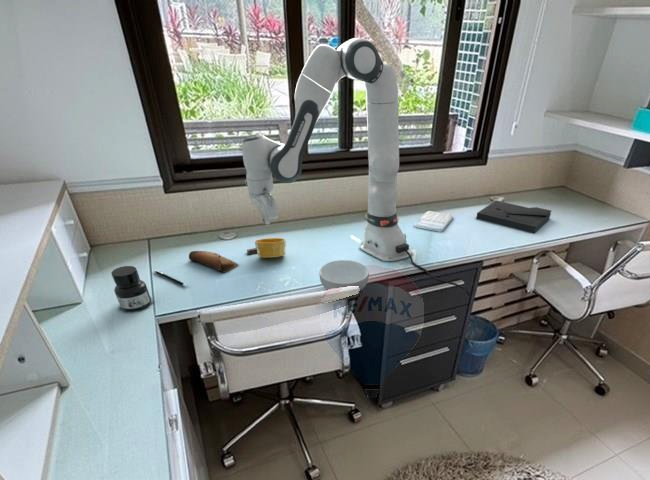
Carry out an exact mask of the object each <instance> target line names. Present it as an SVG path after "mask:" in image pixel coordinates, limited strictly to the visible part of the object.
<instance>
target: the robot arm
mask: <svg viewBox="0 0 650 480" xmlns="http://www.w3.org/2000/svg"><path fill="white" fill-rule="evenodd" d="M344 77H345V78H347V79H350V80H353V81H361V82H362V83H363V85H364V88H365V99H366V101H365V102H366V103H365V104H366V125H367V127H366V128H367V130H366V131H367V154H368V155H367V158H368V187H367V188H368V190H367V211H366V222H367V223H366V225H365V227H364V230H363V240H362V245H360V250H361V251H363V252H365V253H367V254H369V255H370V256H373V257H374V258H377V259H378V260H380V261H382V262H395V261H401V260H404V259H407V258H409V261H410V262H411V264H412V265H413V266H414V267H417V268H418V269H420V270H422V271H424V272H425V273H426V274H427V275H428V276H429V277H430V278H432V279H433V280H435V281H437V282H440V283H444V284H449V285H453V286H455V287H458V288H460V289H463V290H464V291H465V292H466V294H467V296H468V297H471V296H472V295H471V293H470V291H469V290H468V288H467V287H465V286H463V285H461V284H458V283H456V282H453V281H447V280H443V279H439V278H437V277H435V276H433V274H431V273H430V271H428V270H427V269H426V268H425V267H422V266H420V265H418V264H416V263H415V261H414V260H413V258H412V255H413V251H412V250H411V249H410V244H409V243H407V234H406V233H404V232H403V231H402V229H401V227H400V226H399V224H398V223H399V219H400V218H399V217H398V214H397V212H396V211H397V209H396V208H397V196H398V195H397V194H398V192H397V188H398V187H397V186H398V172H399V169H400V136H399V135H400V132H399V129H400V128H399V86H398V77H397V71H396V69H395V67H394V66H393V65H392V64H390V63H389V62H383V60H382V57H381V56H380V53H379V50H378V49H377V47H376V46H375V44H374V43H372V41H370V40H368V39H366V38H361V37H353V38H350V39H346V40H345V41H343V42H341V43H340V44H339V45H338V46H336V47H335V48H334V47H332V46H331V45H329V44H326V43H323V44H322V43H321V44H320V43H319V44H318V45H316V47H315V48H314V49H313V50H312V52H311V53H310V55H309V57H308V59H307V60H306V62H305V64H304V66H303V68H302V70H301V73H300V74H299V77H298V79H297V82H296V87H295V91H294V97H293V98H294V107H295V115H294V120H293V123H292V126H291V129H290V130H289V134H288V136H287V138H286V141H285V143H282V142H279V141H275V140H272V139H270V138H269V137H267V136H265V134H261V133H256V134H251V135H249V136H247V137H245V138H244V139H243V140H242V143H241V152H242V153H241V154H242V160H243V166H244V168H245V170H246V174H245V177H246V179H245V180H244V182H245V187H247V191H248V194H249V195H248V196H249V198H250V202H251V204H252V205H253V206H254V207H255V208H256V209H257V210H258V211H259V213H260V216H261V218H262V222H263V223H264V225H270V224H271V220H276V219H278V217H279V211H278V207H277V201H276V198H275V196H274V195H272V192H274V190H275V186H274V179H275V180H276V181H278V182H280V183H281V184H292V183H294V182H295V181H297V180H298V179H299V178H300V177H301V175H302V171H303V158H304V154H305V151H306V149H307V146H308V144H309V142H310V139H311V137H312V134H313V132H314V129H315V127H316V125H317V123H318V120H319V119H320V117H321V115H322V113H323V112H324V110H325V108H326V106H327V104H329V103H328V102H329V101H330V99H331V97H332V94H333V92H334V90H335V87H336V85H337V84H338V82H339V81H340V80H341V79H342V78H344ZM273 177H274V179H273ZM350 238H351V239H352V240H355V241H356V242H358V243H361V239H359V238H357V237H355V236H354V235H351V234H350Z"/></svg>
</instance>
